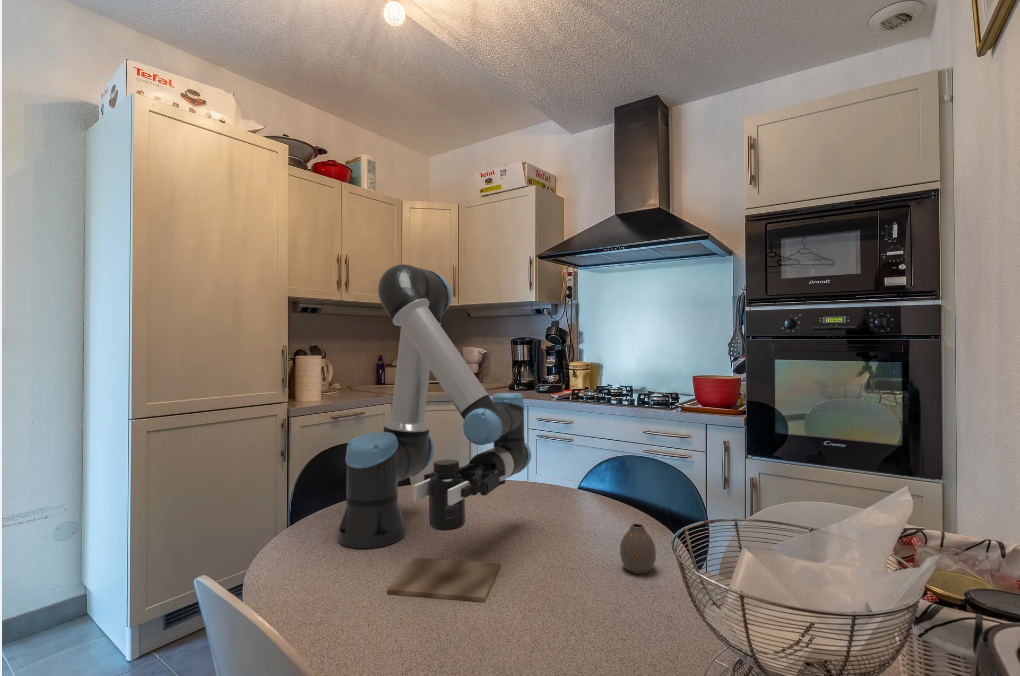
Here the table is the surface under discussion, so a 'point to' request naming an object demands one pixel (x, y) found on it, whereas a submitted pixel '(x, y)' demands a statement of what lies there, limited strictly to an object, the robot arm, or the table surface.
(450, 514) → the supplement bottle
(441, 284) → the robot arm
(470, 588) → the board
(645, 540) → the vase
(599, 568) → the table surface
